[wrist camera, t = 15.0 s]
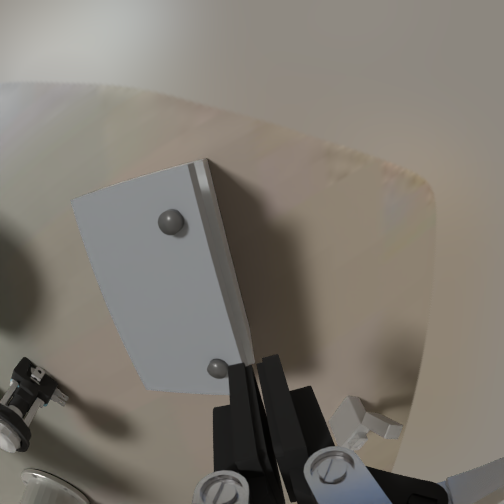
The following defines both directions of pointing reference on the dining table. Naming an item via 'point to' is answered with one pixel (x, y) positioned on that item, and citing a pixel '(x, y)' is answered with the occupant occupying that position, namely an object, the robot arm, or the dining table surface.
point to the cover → (163, 280)
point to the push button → (24, 404)
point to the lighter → (360, 424)
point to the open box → (221, 252)
